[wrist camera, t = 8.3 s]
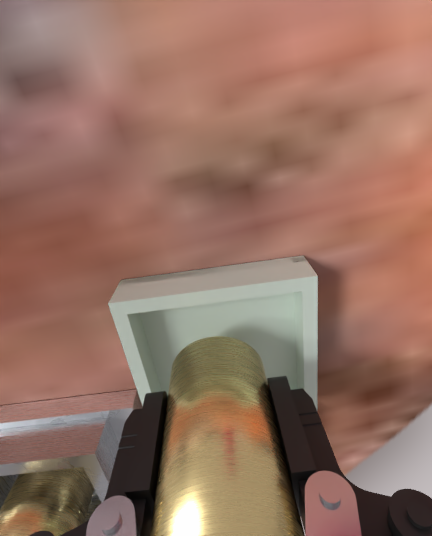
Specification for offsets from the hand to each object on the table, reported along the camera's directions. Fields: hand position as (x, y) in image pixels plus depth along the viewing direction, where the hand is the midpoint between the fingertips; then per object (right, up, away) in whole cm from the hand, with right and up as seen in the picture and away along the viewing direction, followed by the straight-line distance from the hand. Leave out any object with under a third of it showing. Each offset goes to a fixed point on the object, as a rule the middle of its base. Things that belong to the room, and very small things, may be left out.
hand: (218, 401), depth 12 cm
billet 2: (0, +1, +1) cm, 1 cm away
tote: (0, +2, +3) cm, 4 cm away
